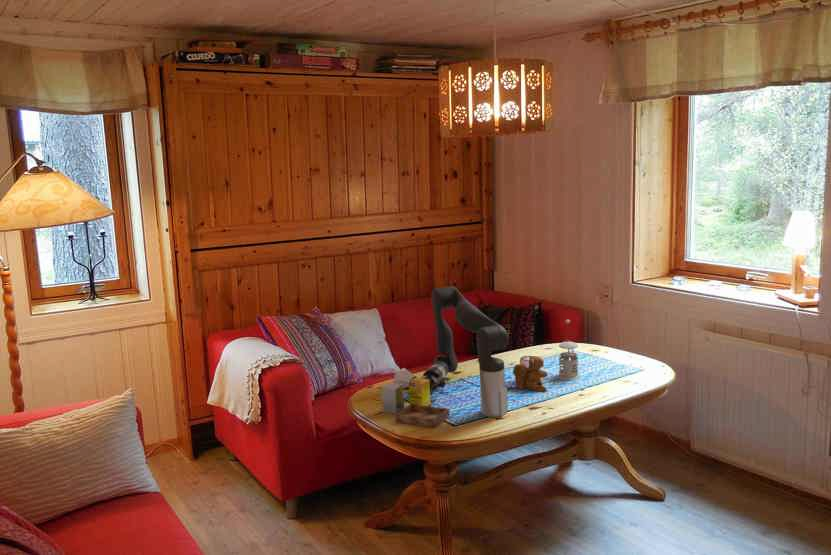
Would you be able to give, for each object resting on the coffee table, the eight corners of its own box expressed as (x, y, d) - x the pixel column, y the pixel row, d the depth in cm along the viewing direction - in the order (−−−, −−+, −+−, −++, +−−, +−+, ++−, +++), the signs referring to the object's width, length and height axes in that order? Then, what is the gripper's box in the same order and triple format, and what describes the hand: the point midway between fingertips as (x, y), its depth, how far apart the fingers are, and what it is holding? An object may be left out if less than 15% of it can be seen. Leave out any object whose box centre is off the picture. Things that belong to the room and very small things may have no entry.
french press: (555, 379, 299) (554, 321, 295) (559, 370, 310) (558, 315, 306) (578, 380, 296) (578, 322, 292) (582, 372, 307) (581, 316, 302)
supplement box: (409, 408, 274) (408, 381, 272) (418, 403, 279) (416, 377, 277) (422, 410, 271) (420, 383, 269) (430, 406, 276) (429, 379, 274)
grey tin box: (404, 409, 274) (402, 384, 272) (396, 414, 269) (395, 389, 267) (390, 407, 277) (389, 382, 275) (383, 412, 271) (381, 387, 270)
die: (416, 390, 297) (418, 369, 301) (400, 385, 292) (402, 363, 296) (403, 393, 302) (405, 372, 307) (388, 388, 297) (390, 366, 302)
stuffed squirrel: (548, 391, 284) (547, 360, 282) (512, 391, 287) (511, 360, 284) (547, 383, 294) (546, 353, 292) (513, 383, 296) (512, 353, 294)
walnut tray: (449, 416, 263) (449, 408, 263) (435, 427, 253) (434, 419, 253) (412, 411, 271) (411, 403, 270) (396, 422, 261) (396, 414, 260)
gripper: (417, 365, 294) (405, 377, 279) (450, 367, 290) (439, 379, 275) (418, 383, 295) (406, 396, 280) (451, 384, 291) (440, 398, 276)
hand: (422, 387), depth 277 cm, fingers open, 8 cm apart
